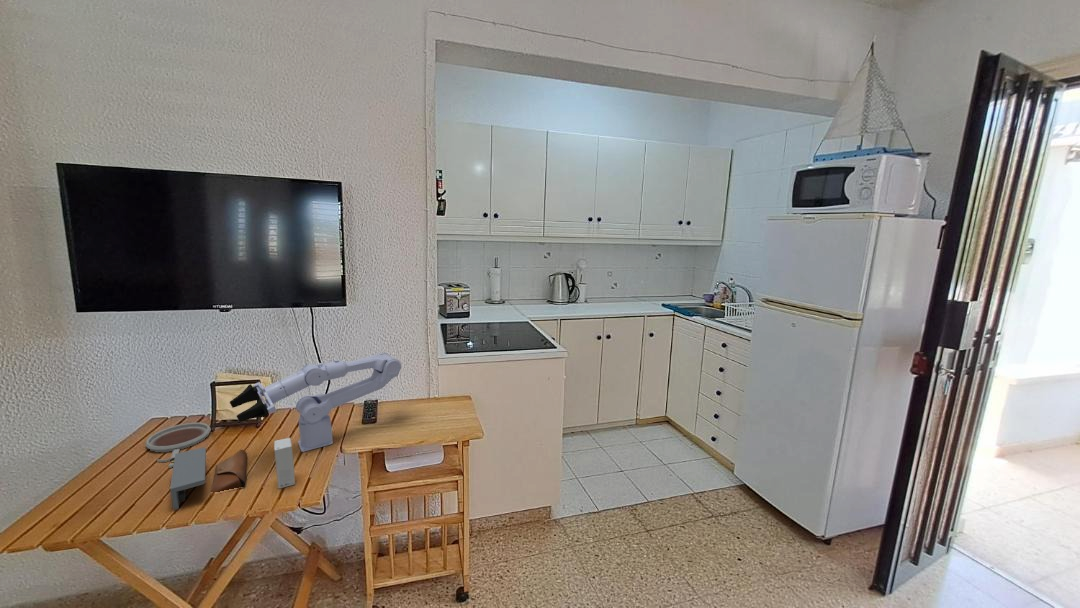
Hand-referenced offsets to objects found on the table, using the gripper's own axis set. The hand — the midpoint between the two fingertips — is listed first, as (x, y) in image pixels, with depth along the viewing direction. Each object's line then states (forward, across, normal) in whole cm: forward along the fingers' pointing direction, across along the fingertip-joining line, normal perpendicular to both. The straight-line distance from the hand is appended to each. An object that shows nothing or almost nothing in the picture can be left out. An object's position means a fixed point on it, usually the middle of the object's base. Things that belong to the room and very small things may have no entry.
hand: (234, 411), depth 127 cm
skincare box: (-3, +22, +14) cm, 26 cm away
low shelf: (+16, +6, +12) cm, 22 cm away
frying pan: (+18, -21, +20) cm, 34 cm away
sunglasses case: (+8, +8, +15) cm, 19 cm away
